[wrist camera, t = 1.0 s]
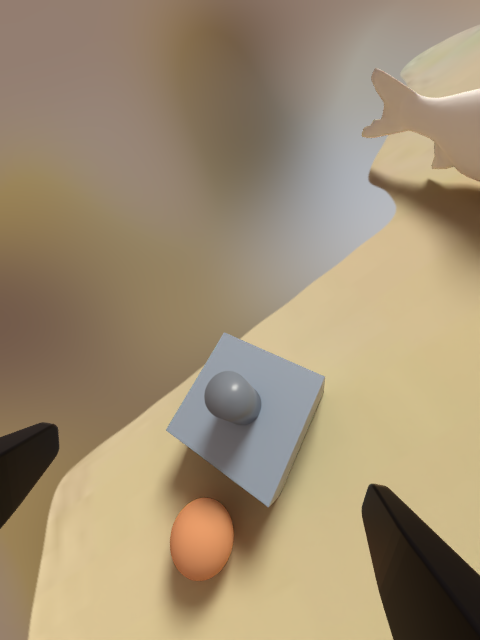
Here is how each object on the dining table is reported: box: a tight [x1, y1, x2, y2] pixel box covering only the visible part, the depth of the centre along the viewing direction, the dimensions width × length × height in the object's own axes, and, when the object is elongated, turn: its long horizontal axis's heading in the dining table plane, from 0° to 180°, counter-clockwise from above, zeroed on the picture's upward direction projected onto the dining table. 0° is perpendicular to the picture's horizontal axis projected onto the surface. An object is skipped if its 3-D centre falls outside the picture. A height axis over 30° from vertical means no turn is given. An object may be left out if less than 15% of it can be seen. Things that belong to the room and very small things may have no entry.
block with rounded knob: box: [166, 333, 325, 507], centre depth 21 cm, size 10×10×10 cm
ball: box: [170, 498, 234, 581], centre depth 20 cm, size 5×5×5 cm
